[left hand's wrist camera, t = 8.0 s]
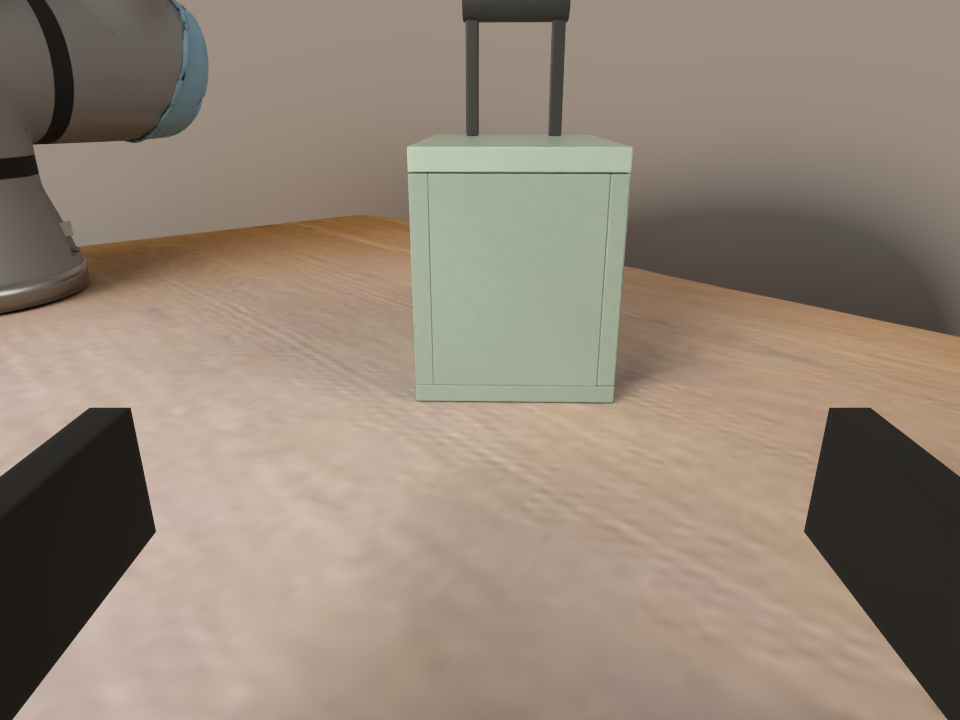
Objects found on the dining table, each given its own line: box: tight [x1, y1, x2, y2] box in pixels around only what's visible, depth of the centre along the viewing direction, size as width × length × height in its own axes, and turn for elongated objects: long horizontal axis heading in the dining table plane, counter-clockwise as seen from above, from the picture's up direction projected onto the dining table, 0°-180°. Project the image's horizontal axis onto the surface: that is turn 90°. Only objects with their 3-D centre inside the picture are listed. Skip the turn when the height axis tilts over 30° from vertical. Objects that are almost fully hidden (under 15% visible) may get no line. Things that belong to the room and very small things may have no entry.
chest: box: [408, 172, 631, 403], centre depth 36 cm, size 13×10×11 cm
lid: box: [407, 0, 633, 173], centre depth 33 cm, size 14×10×9 cm
